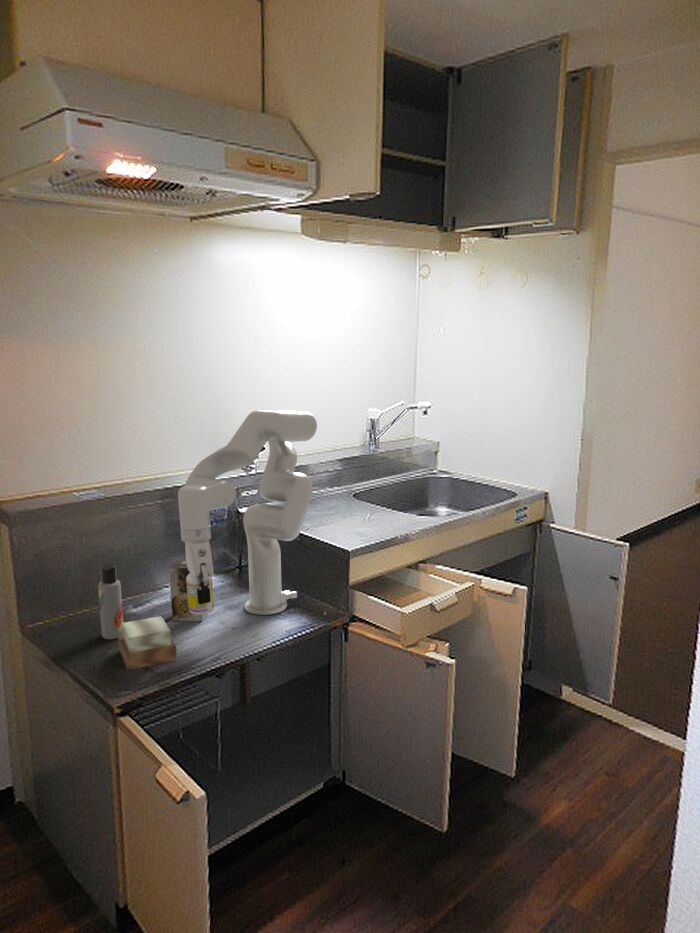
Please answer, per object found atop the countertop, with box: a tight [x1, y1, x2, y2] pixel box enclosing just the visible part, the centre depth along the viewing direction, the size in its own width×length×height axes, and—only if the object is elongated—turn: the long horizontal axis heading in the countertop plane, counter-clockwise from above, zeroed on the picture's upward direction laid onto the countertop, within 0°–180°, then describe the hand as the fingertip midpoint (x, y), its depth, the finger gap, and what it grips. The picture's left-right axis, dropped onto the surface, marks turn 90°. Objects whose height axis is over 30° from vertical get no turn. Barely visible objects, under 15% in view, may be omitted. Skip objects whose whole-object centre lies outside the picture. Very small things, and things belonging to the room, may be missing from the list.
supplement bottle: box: [186, 567, 215, 615], centre depth 190 cm, size 7×7×13 cm
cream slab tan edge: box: [118, 615, 177, 671], centre depth 185 cm, size 12×12×8 cm
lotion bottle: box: [97, 563, 124, 640], centre depth 196 cm, size 6×6×20 cm
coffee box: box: [168, 560, 209, 622], centre depth 208 cm, size 9×6×16 cm
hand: (200, 597), depth 190 cm, fingers closed on supplement bottle, 6 cm apart
